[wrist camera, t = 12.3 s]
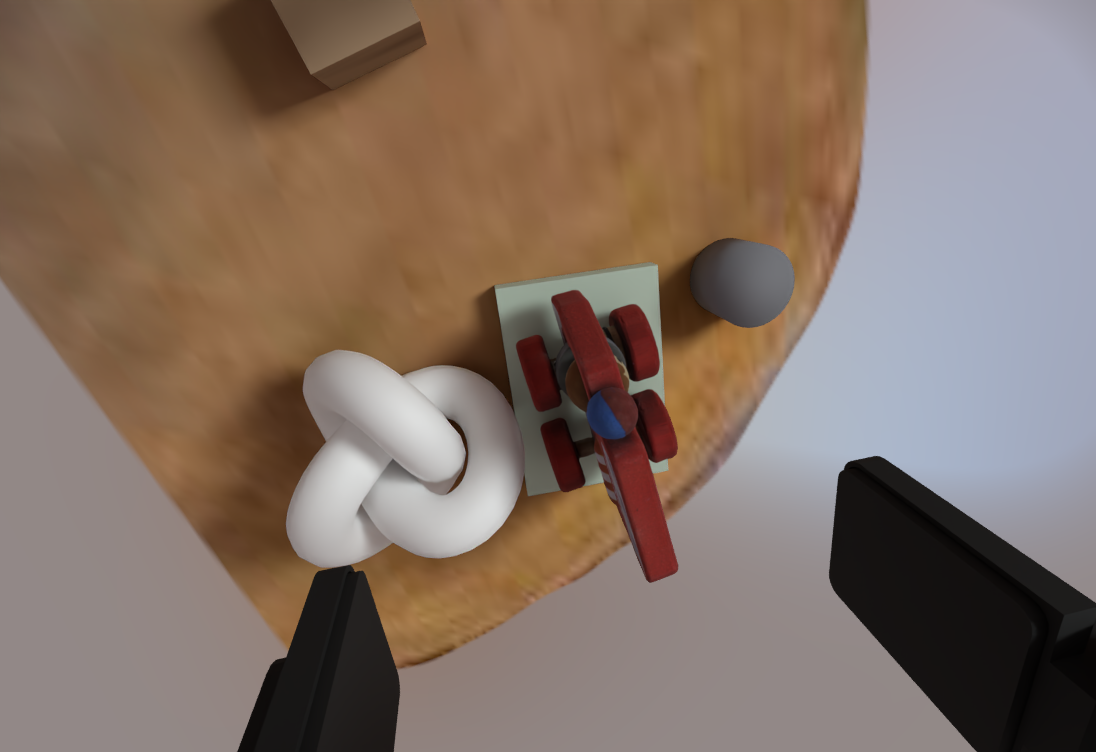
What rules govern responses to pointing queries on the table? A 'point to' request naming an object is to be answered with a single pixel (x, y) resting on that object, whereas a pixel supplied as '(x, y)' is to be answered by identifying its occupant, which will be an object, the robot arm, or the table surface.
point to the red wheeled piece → (607, 416)
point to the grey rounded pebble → (742, 281)
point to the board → (533, 314)
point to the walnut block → (350, 35)
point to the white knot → (402, 461)
